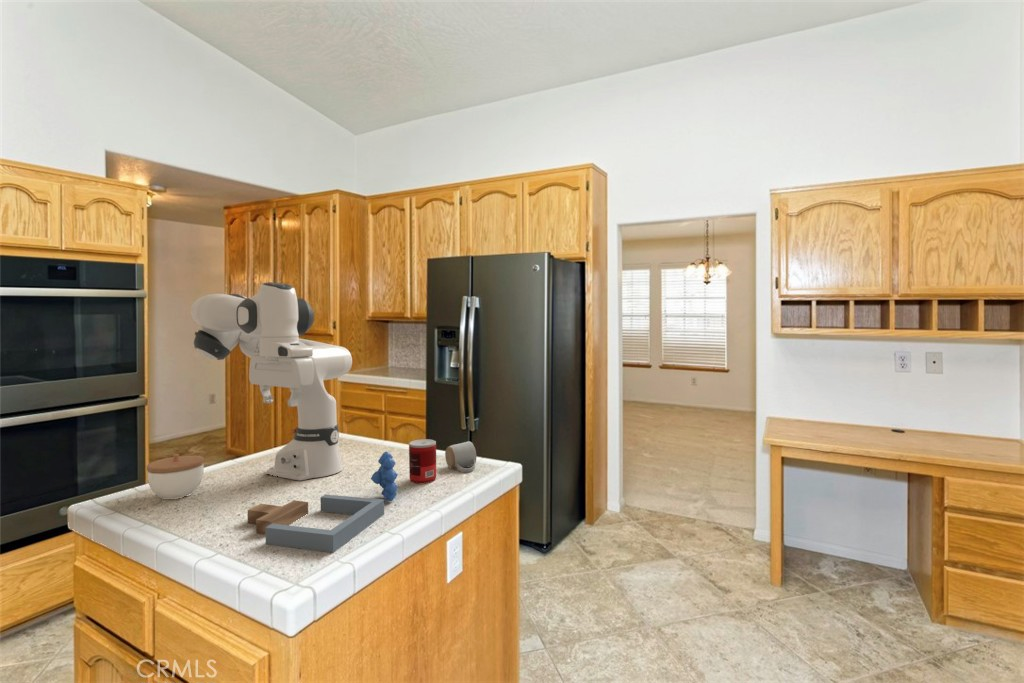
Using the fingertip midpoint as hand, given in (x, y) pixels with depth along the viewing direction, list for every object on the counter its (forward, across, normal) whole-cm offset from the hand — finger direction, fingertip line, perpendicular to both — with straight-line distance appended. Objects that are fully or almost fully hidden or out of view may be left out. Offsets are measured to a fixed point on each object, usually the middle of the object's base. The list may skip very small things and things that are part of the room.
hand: (280, 404), depth 120 cm
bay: (+26, +20, -3) cm, 33 cm away
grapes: (+26, +18, +16) cm, 36 cm away
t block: (+26, +6, -7) cm, 27 cm away
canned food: (+26, +17, +34) cm, 45 cm away
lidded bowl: (+26, -33, -8) cm, 43 cm away
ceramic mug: (+26, +21, +48) cm, 59 cm away
